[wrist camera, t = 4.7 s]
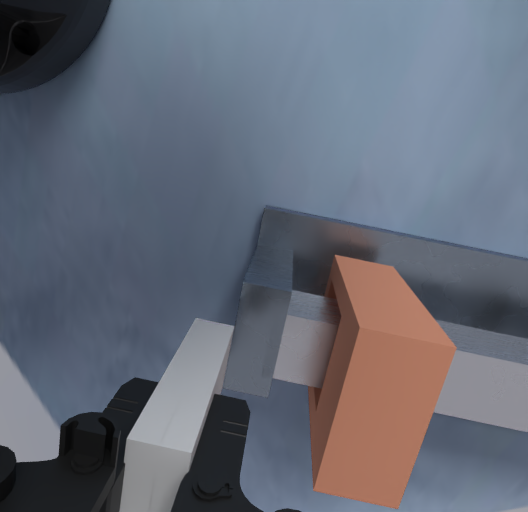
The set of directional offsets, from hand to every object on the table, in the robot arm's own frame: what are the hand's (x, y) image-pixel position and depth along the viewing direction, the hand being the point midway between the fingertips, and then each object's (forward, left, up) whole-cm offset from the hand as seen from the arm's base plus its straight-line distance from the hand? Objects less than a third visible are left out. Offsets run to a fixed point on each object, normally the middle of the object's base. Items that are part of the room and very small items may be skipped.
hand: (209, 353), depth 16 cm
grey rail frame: (+12, 0, -9) cm, 15 cm away
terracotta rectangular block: (+6, 0, -6) cm, 9 cm away
